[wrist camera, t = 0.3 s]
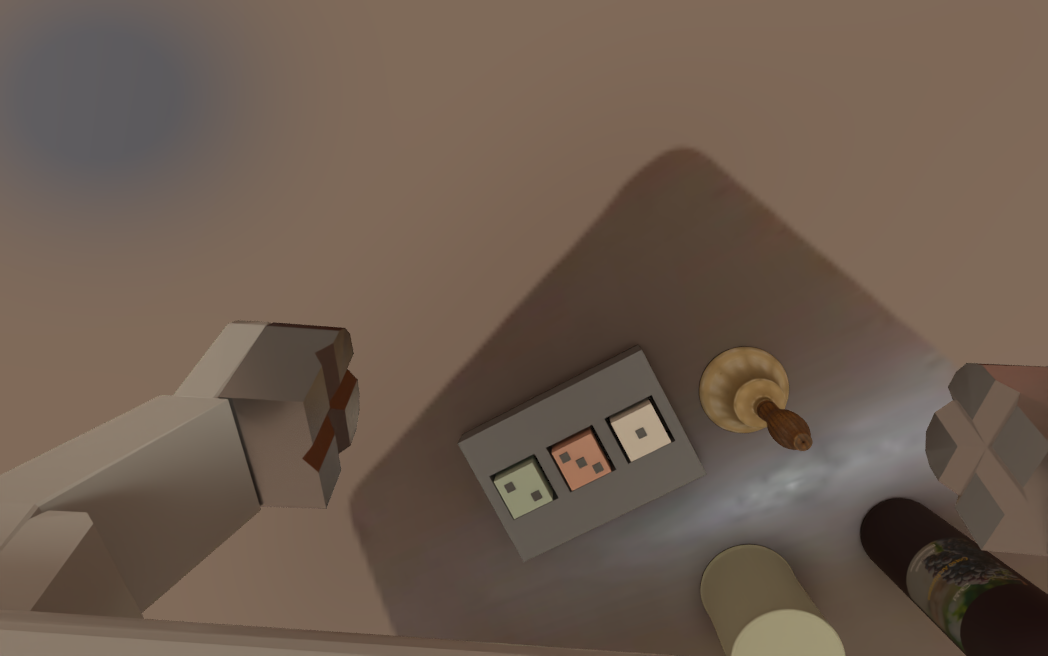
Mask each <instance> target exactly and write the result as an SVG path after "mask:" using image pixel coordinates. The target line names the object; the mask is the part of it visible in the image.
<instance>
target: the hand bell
mask: <svg viewBox="0 0 1048 656" xmlns="http://www.w3.org/2000/svg"><path fill="white" fill-rule="evenodd" d="M699 396H700V402H701V405H702V408H703V410H704V412H705V413H706V415H707V416H708V417H709V418H710V419H711V420H712V421H713V422H714V423H715V424H716V425H718V426H719V427H721V428H723V429H725V430H727V431H731V432H736V433H750V432H755V431H758V430H761V429H763V428H765V427H767V428H768V431H769V433H770V435H771V436H772V437H773V439H774V440H775V441H776V442H777V443H779V444H780V445H781V446H783V447H785V448H788V449H792V450H800V451H806V450H808V449H809V448H810V447H811V445H812V439H811V434H810V429H809V426H808V425H807V423H806V422H805V420H804V419H802V418H801V417H800V416H799V415H797V414H796V413H794V412H792V411H789V410H785V406H786V403H787V400H788V396H789V382H788V378H787V374H786V372H785V370H784V368H783V366H782V365H781V364H780V362H779V361H778V360H777V359H776V358H775V357H773V356H772V355H771V354H769V353H768V352H766V351H764V350H761V349H758V348H754V347H737V348H733V349H730V350H727V351H725V352H723V353H721V354H720V355H718V356H717V357H715V358H714V359H713V360H712V361H711V362H710V363H709V365H708V366H707V367H706V369H705V371H704V373H703V375H702V378H701V381H700V386H699Z"/></svg>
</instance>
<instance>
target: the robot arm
mask: <svg viewBox="0 0 1048 656" xmlns="http://www.w3.org/2000/svg"><path fill="white" fill-rule="evenodd" d="M353 354H354V353H353V347H352V343H351V337H350V333H349V332H348V331H347V330H346V329H345V328H341V327H327V326H314V325H301V324H288V323H269V322H259V321H239V320H238V321H234V322H231V323H228V324H227V325H226V327H225V328H224V329H223V331H222V332H221V333H220V335H219V336H218V337H217V338H216V340H215V341H214V342H213V344H212V345H211V346H210V348H209V349H208V350H207V352H206V353H205V354H204V355H203V357H202V358H201V359H200V361H199V362H198V363H197V364H196V366H195V367H194V368H193V370H192V371H191V372H190V374H189V375H188V376H187V377H186V379H185V380H184V382H183V383H182V384H181V385H180V387H179V388H178V389H177V391H176V392H175V393H174V394H173V396H167V395H160V396H158V397H156V398H154V399H152V400H150V401H148V402H146V403H144V404H142V405H140V406H138V407H136V408H134V409H132V410H130V411H128V412H126V413H124V414H122V415H120V416H118V417H116V418H114V419H112V420H110V421H108V422H106V423H104V424H102V425H100V426H98V427H96V428H94V429H92V430H90V431H88V432H86V433H84V434H82V435H80V436H78V437H76V438H74V439H72V440H70V441H68V442H66V443H64V444H62V445H60V446H58V447H56V448H54V449H52V450H50V451H48V452H46V453H44V454H42V455H40V456H38V457H36V458H34V459H32V460H30V461H28V462H26V463H24V464H22V465H20V466H18V467H16V468H14V469H12V470H10V471H8V472H6V473H4V474H2V475H0V656H678V655H664V654H649V653H634V652H620V651H605V650H591V649H577V648H562V647H548V646H533V645H519V644H505V643H490V642H476V641H461V640H447V639H433V638H418V637H404V636H389V635H375V634H374V635H373V634H360V633H345V632H331V631H316V630H301V629H286V628H272V627H257V626H256V627H255V626H243V625H227V624H213V623H197V622H184V621H169V620H154V619H144V618H143V615H142V612H144V611H145V610H146V609H147V608H148V607H149V606H150V605H152V604H153V603H154V602H155V601H156V600H158V599H159V598H160V597H161V596H162V595H163V594H164V593H166V592H167V591H168V590H169V589H170V588H171V587H172V586H174V585H175V584H176V583H177V582H178V581H179V580H181V579H182V578H183V577H184V576H185V575H186V574H188V573H189V572H190V571H191V570H192V569H193V568H194V567H196V566H197V565H198V564H199V563H200V562H201V561H203V560H204V559H205V558H206V557H207V556H208V555H210V554H211V553H212V552H213V551H214V550H215V549H216V548H218V547H219V546H220V545H221V544H222V543H223V542H224V541H226V540H227V539H228V538H229V537H230V536H232V535H233V534H234V533H235V532H236V531H237V530H238V529H240V528H241V527H242V526H243V525H244V524H245V523H246V522H248V521H249V520H250V519H251V518H252V517H253V516H254V515H256V514H257V513H258V512H259V511H260V510H261V508H260V506H263V507H290V508H318V509H326V508H327V505H328V502H329V500H330V498H331V495H332V492H333V490H334V487H335V485H336V482H337V479H338V477H339V474H340V472H341V466H340V460H339V453H340V452H342V451H343V450H345V449H346V448H348V447H349V446H350V445H351V443H352V440H353V437H354V434H355V432H356V427H357V422H358V415H359V387H358V379H357V378H355V376H354V375H353V374H352V373H351V372H350V371H349V370H348V369H347V368H348V365H349V362H350V361H351V358H352V356H353ZM948 389H949V391H950V394H951V396H952V399H953V401H951V402H950V403H948V404H947V405H945V406H944V407H942V408H941V409H939V410H938V411H936V412H935V413H934V415H933V417H932V420H931V422H930V424H929V426H928V428H927V431H926V449H925V451H926V455H927V458H928V462H929V465H930V467H931V469H932V471H933V473H934V474H935V476H936V478H937V479H938V481H939V482H941V483H942V484H944V485H945V486H946V487H948V488H949V489H951V490H952V491H954V492H955V493H956V494H958V499H957V502H956V505H955V509H956V510H957V512H958V514H959V515H960V517H961V518H962V520H963V522H964V523H965V525H966V526H967V528H968V530H969V531H970V533H971V534H972V536H973V538H974V539H975V541H976V542H977V544H978V546H979V547H980V549H981V550H985V551H996V552H1007V553H1019V554H1030V555H1041V556H1048V366H1046V367H1043V366H1022V365H1000V364H978V363H966V364H965V365H964V366H963V367H961V368H960V369H959V370H958V371H957V372H956V373H955V375H954V377H953V379H952V380H951V382H950V384H949V386H948Z"/></svg>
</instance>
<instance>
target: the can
mask: <svg viewBox="0 0 1048 656" xmlns="http://www.w3.org/2000/svg"><path fill="white" fill-rule="evenodd" d="M700 591H701V599H702V603H703V605H704V608H705V610H706V611H707V613H708V615H709V616H710V618H711V620H712V623H713V625H714V628H715V630H716V633H717V635H718V637H719V640H720V642H721V645H722V648H723V650H724V653H725V655H726V656H845V651H844V647H843V644H842V642H841V640H840V638H839V636H838V634H837V633H836V631H835V630H834V629H833V628H832V627H831V626H830V625H829V623H828V622H827V621H826V619H825V618H824V617H823V615H822V614H821V613H820V611H819V610H818V609H817V607H816V606H815V604H814V603H813V602H812V600H811V599H810V597H809V596H808V595H807V593H806V592H805V590H804V589H803V587H802V586H801V584H800V583H799V582H798V580H797V579H796V577H795V576H794V573H793V571H792V569H791V567H790V566H789V564H788V563H787V562H786V561H785V559H784V558H782V557H781V556H780V555H779V554H777V553H776V552H774V551H773V550H771V549H768V548H766V547H763V546H758V545H739V546H735V547H732V548H729V549H727V550H725V551H723V552H721V553H720V554H718V555H717V556H716V557H715V558H714V559H713V560H712V561H711V562H710V563H709V565H708V566H707V568H706V570H705V571H704V574H703V577H702V580H701V587H700Z"/></svg>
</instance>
